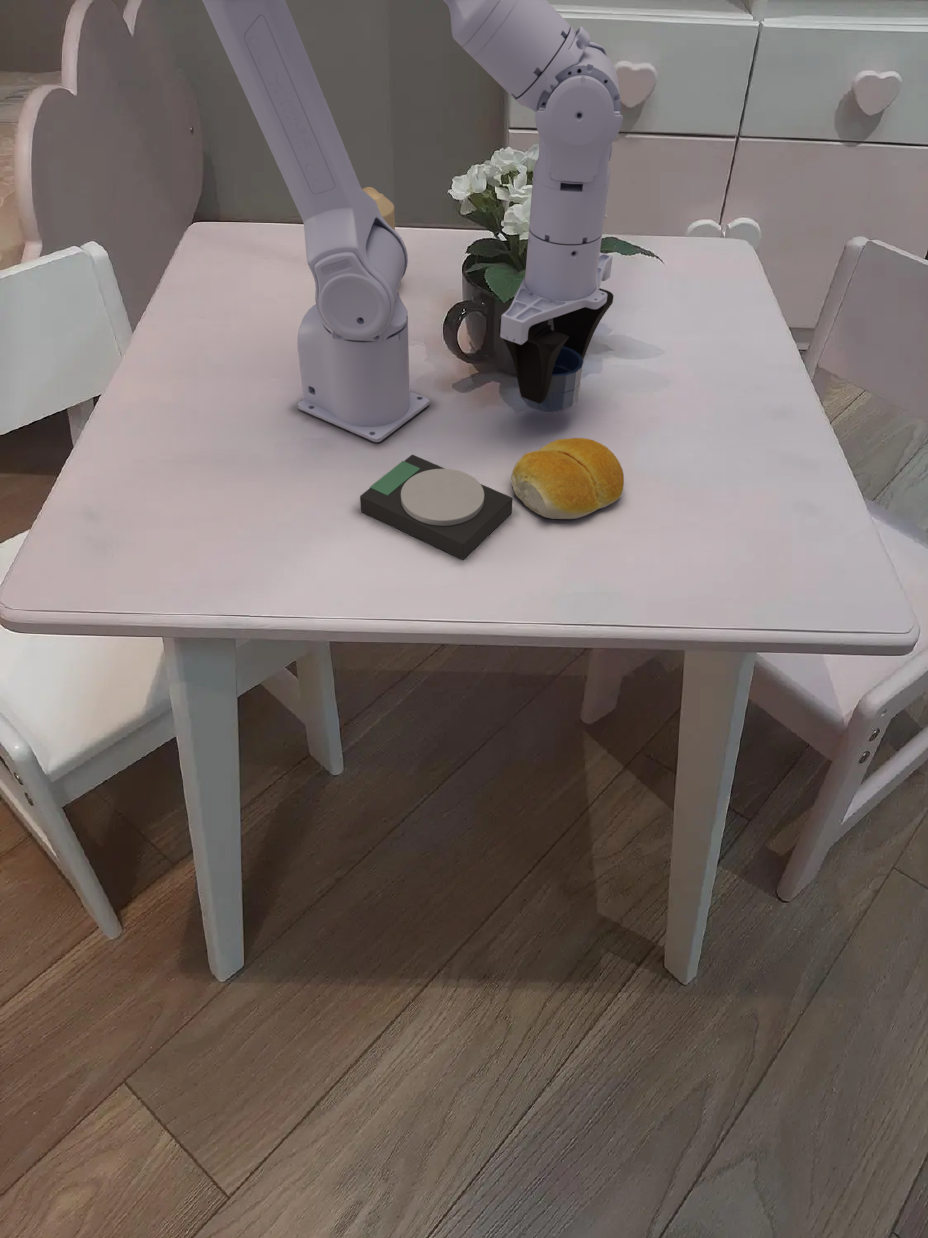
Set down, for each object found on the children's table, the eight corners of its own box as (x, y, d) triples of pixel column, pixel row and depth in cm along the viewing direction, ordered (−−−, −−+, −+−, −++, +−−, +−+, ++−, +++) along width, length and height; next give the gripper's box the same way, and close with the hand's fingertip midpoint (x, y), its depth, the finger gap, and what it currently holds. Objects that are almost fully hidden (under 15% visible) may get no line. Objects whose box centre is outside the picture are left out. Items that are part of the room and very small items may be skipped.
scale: (360, 511, 75) (359, 489, 74) (412, 469, 79) (412, 447, 78) (462, 560, 72) (463, 538, 70) (511, 513, 76) (513, 491, 74)
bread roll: (640, 495, 78) (647, 455, 75) (558, 536, 74) (563, 495, 71) (574, 447, 82) (579, 408, 79) (493, 483, 78) (496, 443, 75)
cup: (507, 401, 83) (510, 362, 80) (538, 375, 86) (542, 337, 83) (559, 421, 81) (563, 382, 78) (589, 394, 84) (594, 356, 81)
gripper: (563, 277, 67) (546, 437, 76) (653, 212, 75) (628, 363, 85) (481, 251, 69) (474, 408, 79) (577, 190, 78) (561, 339, 88)
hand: (549, 383), depth 82 cm, fingers closed on cup, 5 cm apart
